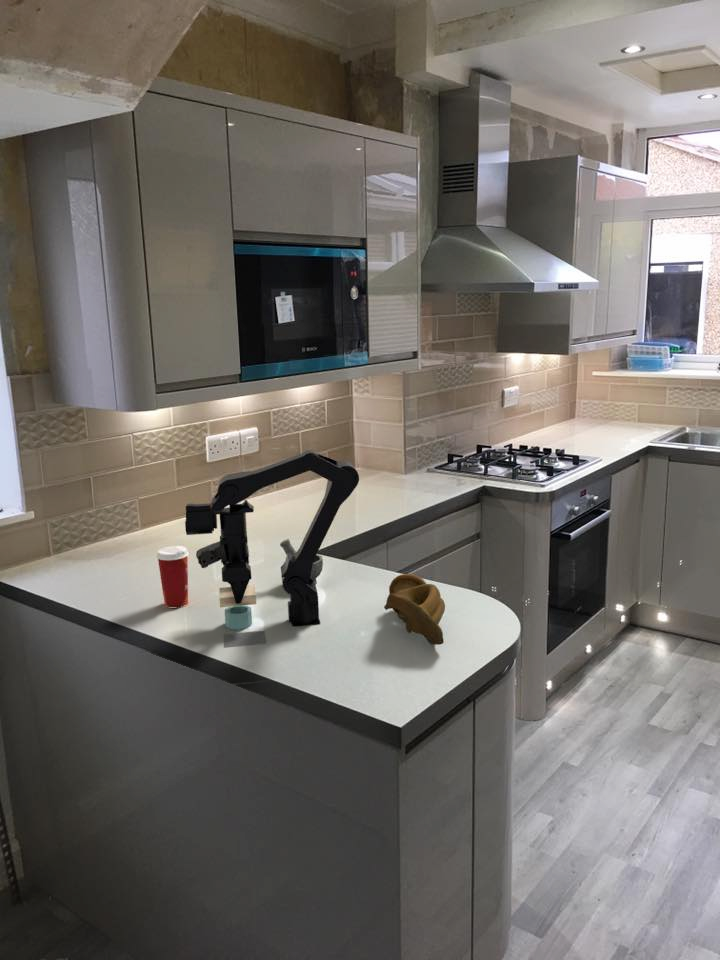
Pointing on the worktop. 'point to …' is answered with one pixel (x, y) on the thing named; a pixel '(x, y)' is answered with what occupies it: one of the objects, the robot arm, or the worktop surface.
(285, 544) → the mortar and pestle
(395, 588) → the brown looped sculpture
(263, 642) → the mat
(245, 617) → the ramekin
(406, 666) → the worktop surface
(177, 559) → the paper cup
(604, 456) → the worktop surface
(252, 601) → the board
